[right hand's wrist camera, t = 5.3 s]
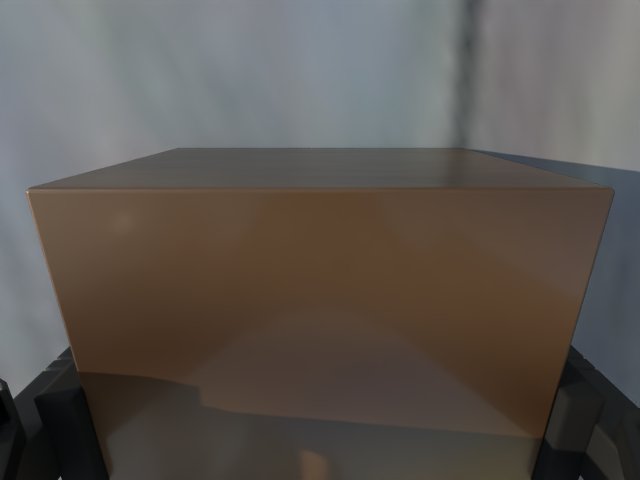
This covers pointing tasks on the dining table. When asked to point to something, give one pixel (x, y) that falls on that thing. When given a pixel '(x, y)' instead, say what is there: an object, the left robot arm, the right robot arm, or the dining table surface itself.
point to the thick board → (320, 309)
